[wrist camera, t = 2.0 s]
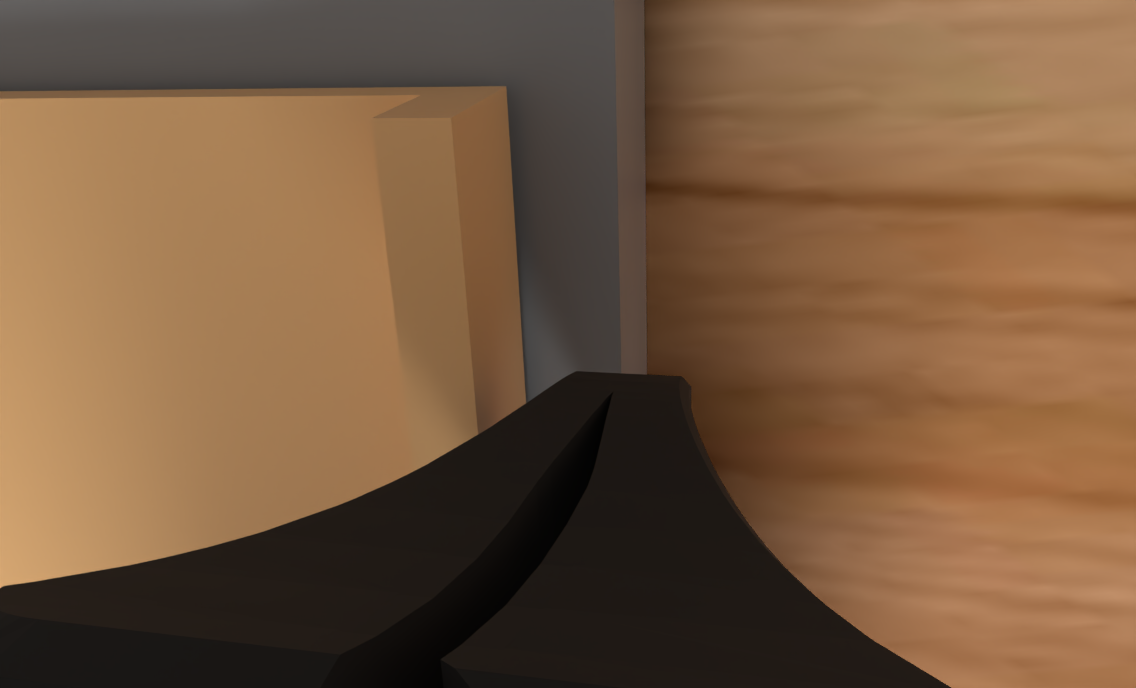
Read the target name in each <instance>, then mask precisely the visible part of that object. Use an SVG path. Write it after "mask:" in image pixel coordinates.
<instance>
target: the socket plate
mask: <svg viewBox="0 0 1136 688" xmlns="http://www.w3.org/2000/svg"><path fill="white" fill-rule="evenodd" d="M471 86H506V89H507V105H508V121H509V137H510V153H511V169H512V185H513V201H514V217H515V233H516V249H517V265H518V281H519V297H520V313H521V330H522V346H523V362H524V378H525V394H526V403H527V402H529V401H530V400H532V399H533V398H534V397H536V396H537V395H539V394H540V393H542V392H543V391H545V390H546V389H548V388H549V387H551V386H552V385H554V384H555V383H557V382H558V381H560V380H561V379H563V378H564V377H566V376H568V375H569V374H571V373H573V372H575V371H586V372H605V373H625V374H645V375H647V302H646V167H645V32H644V0H0V91H78V90H176V89H274V88H373V87H471Z"/></svg>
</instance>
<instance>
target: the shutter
mask: <svg viewBox="0 0 1136 688" xmlns="http://www.w3.org/2000/svg"><path fill="white" fill-rule="evenodd" d="M524 404H526V394H525V378H524V362H523V346H522V330H521V313H520V297H519V281H518V265H517V249H516V233H515V217H514V201H513V185H512V169H511V153H510V137H509V121H508V105H507V89H506V86H471V87H373V88H274V89H176V90H78V91H0V588H1V587H3V586H7V585H14V584H21V583H28V582H35V581H41V580H47V579H52V578H58V577H64V576H70V575H76V574H81V573H87V572H93V571H99V570H105V569H110V568H116V567H122V566H128V565H133V564H137V563H142V562H147V561H152V560H156V559H161V558H165V557H169V556H173V555H178V554H182V553H186V552H190V551H194V550H198V549H202V548H207V547H210V546H214V545H218V544H221V543H225V542H228V541H232V540H236V539H239V538H243V537H246V536H250V535H253V534H257V533H260V532H263V531H266V530H269V529H272V528H275V527H278V526H280V525H283V524H286V523H289V522H292V521H295V520H298V519H300V518H303V517H306V516H309V515H312V514H315V513H318V512H320V511H323V510H326V509H329V508H332V507H335V506H338V505H340V504H343V503H345V502H347V501H350V500H352V499H355V498H357V497H359V496H362V495H364V494H366V493H368V492H371V491H373V490H375V489H377V488H380V487H382V486H384V485H386V484H389V483H391V482H393V481H395V480H397V479H399V478H401V477H403V476H405V475H407V474H409V473H411V472H413V471H415V470H417V469H419V468H421V467H423V466H425V465H427V464H428V463H430V462H432V461H434V460H435V459H437V458H439V457H440V456H442V455H444V454H446V453H447V452H449V451H451V450H452V449H454V448H456V447H458V446H459V445H461V444H463V443H464V442H466V441H468V440H469V439H471V438H473V437H475V436H476V435H478V434H480V433H481V432H483V431H485V430H486V429H488V428H490V427H491V426H493V425H494V424H496V423H497V422H499V421H500V420H502V419H503V418H505V417H506V416H508V415H509V414H511V413H512V412H514V411H515V410H517V409H518V408H520V407H521V406H523V405H524Z"/></svg>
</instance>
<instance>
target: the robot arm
mask: <svg viewBox="0 0 1136 688" xmlns="http://www.w3.org/2000/svg"><path fill="white" fill-rule="evenodd" d="M0 688H951V687H949V686H948V685H946V684H944V683H943V682H941V681H939V680H938V679H936V678H934V677H933V676H931V675H929V674H928V673H926V672H924V671H923V670H921V669H919V668H918V667H916V666H915V665H913V664H911V663H910V662H908V661H906V660H905V659H903V658H901V657H900V656H898V655H896V654H895V653H893V652H891V651H890V650H888V649H886V648H885V647H883V646H881V645H880V644H878V643H876V642H875V641H873V640H872V639H870V638H869V637H868V636H866V635H865V634H863V633H862V632H861V631H859V630H858V629H857V628H855V627H854V626H853V625H851V624H850V623H849V622H847V621H846V620H845V619H843V618H842V617H841V616H839V615H838V614H837V613H835V612H834V611H833V610H832V609H830V608H829V607H828V606H826V605H825V604H824V603H823V602H822V601H820V600H819V599H818V598H817V597H816V596H814V595H813V594H812V593H811V592H810V591H809V590H808V589H807V588H806V587H805V586H804V585H803V584H802V583H801V582H800V581H799V580H798V579H797V578H795V577H794V576H793V575H792V574H791V573H790V572H789V571H788V570H787V569H786V568H785V567H784V566H783V565H782V564H781V563H780V561H779V560H778V559H777V558H776V557H775V556H774V555H773V553H772V552H771V551H770V550H769V549H768V548H767V547H766V546H765V544H764V543H763V542H762V540H761V539H760V538H759V537H758V535H757V534H756V533H755V531H754V530H753V529H752V528H751V526H750V525H749V524H748V522H747V521H746V519H745V518H744V517H743V515H742V514H741V512H740V511H739V509H738V508H737V506H736V505H735V503H734V502H733V500H732V499H731V497H730V495H729V493H728V492H727V490H726V488H725V487H724V485H723V483H722V481H721V480H720V478H719V476H718V474H717V472H716V470H715V469H714V467H713V465H712V463H711V461H710V458H709V456H708V454H707V452H706V449H705V447H704V445H703V442H702V440H701V438H700V436H699V433H698V430H697V427H696V425H695V421H694V418H693V414H692V411H691V386H690V385H689V384H688V383H687V381H686V380H685V379H684V378H683V377H682V376H665V375H645V374H625V373H605V372H586V371H575V372H573V373H571V374H569V375H568V376H566V377H564V378H563V379H561V380H560V381H558V382H557V383H555V384H554V385H552V386H551V387H549V388H548V389H546V390H545V391H543V392H542V393H540V394H539V395H537V396H536V397H534V398H533V399H532V400H530V401H529V402H527V403H526V404H524V405H523V406H521V407H520V408H518V409H517V410H515V411H514V412H512V413H511V414H509V415H508V416H506V417H505V418H503V419H502V420H500V421H499V422H497V423H496V424H494V425H493V426H491V427H490V428H488V429H486V430H485V431H483V432H481V433H480V434H478V435H476V436H475V437H473V438H471V439H469V440H468V441H466V442H464V443H463V444H461V445H459V446H458V447H456V448H454V449H452V450H451V451H449V452H447V453H446V454H444V455H442V456H440V457H439V458H437V459H435V460H434V461H432V462H430V463H428V464H427V465H425V466H423V467H421V468H419V469H417V470H415V471H413V472H411V473H409V474H407V475H405V476H403V477H401V478H399V479H397V480H395V481H393V482H391V483H389V484H386V485H384V486H382V487H380V488H377V489H375V490H373V491H371V492H368V493H366V494H364V495H362V496H359V497H357V498H355V499H352V500H350V501H347V502H345V503H343V504H340V505H338V506H335V507H332V508H329V509H326V510H323V511H320V512H318V513H315V514H312V515H309V516H306V517H303V518H300V519H298V520H295V521H292V522H289V523H286V524H283V525H280V526H278V527H275V528H272V529H269V530H266V531H263V532H260V533H257V534H253V535H250V536H246V537H243V538H239V539H236V540H232V541H228V542H225V543H221V544H218V545H214V546H210V547H207V548H202V549H198V550H194V551H190V552H186V553H182V554H178V555H173V556H169V557H165V558H161V559H156V560H152V561H147V562H142V563H137V564H133V565H128V566H122V567H116V568H110V569H105V570H99V571H93V572H87V573H81V574H76V575H70V576H64V577H58V578H52V579H47V580H41V581H35V582H28V583H21V584H14V585H7V586H3V587H1V588H0Z"/></svg>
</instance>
